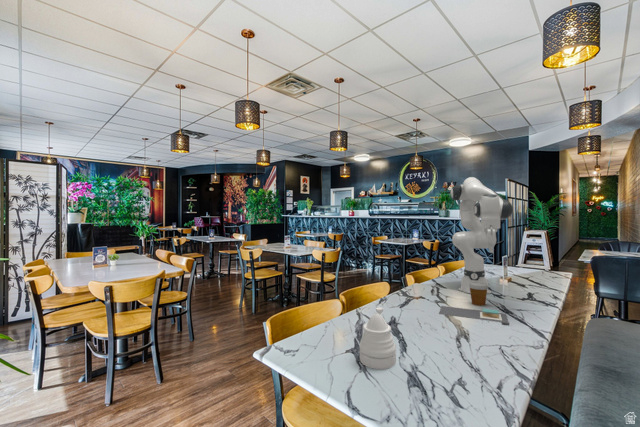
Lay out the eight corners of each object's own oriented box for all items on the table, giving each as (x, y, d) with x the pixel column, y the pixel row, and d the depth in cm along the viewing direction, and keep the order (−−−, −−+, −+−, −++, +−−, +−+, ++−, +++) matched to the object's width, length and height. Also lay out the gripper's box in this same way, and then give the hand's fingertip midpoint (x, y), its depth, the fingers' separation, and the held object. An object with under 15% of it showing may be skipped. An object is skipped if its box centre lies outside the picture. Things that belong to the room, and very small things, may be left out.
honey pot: (370, 348, 117) (370, 302, 117) (402, 358, 109) (401, 308, 108) (352, 361, 107) (352, 311, 107) (385, 373, 99) (384, 318, 98)
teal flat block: (498, 315, 147) (498, 310, 147) (499, 318, 142) (499, 313, 142) (482, 313, 150) (482, 308, 150) (482, 316, 146) (482, 311, 146)
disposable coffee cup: (483, 303, 170) (483, 282, 169) (491, 308, 160) (491, 286, 160) (466, 302, 170) (465, 281, 170) (473, 308, 161) (472, 286, 161)
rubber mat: (441, 307, 163) (441, 305, 163) (506, 315, 149) (506, 313, 149) (438, 315, 150) (438, 313, 150) (508, 325, 137) (508, 323, 137)
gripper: (499, 226, 146) (499, 254, 146) (496, 224, 164) (496, 249, 164) (484, 226, 149) (484, 253, 149) (483, 224, 167) (483, 248, 167)
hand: (490, 251), depth 157 cm, fingers open, 8 cm apart
